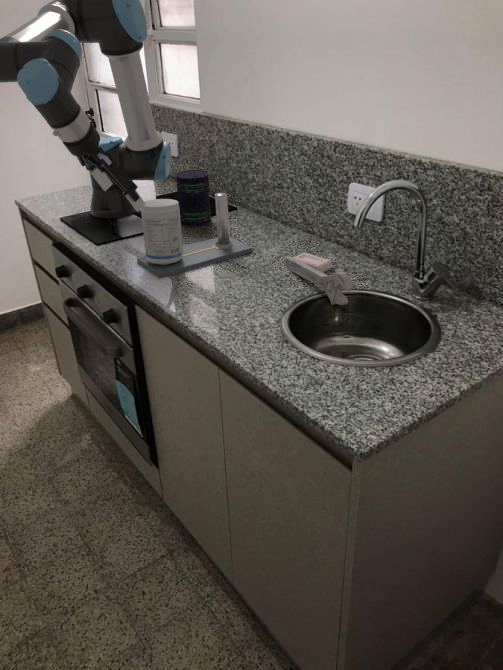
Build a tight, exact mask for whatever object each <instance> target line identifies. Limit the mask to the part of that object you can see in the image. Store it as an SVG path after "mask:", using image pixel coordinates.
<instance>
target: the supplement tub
mask: <svg viewBox="0 0 503 670" xmlns="http://www.w3.org/2000/svg"><path fill="white" fill-rule="evenodd" d="M144 202H145V205H144V206H143V207H142V208H141V209H140V213H141V223H142V231H143V243H144V249H145V256H146V259H147V260H148V261H149V262H151V263H154V264H170V263H175V262H178V261H179V260H181V259H182V257H183V248H182V246H183V237H182V225H181V221H180V220H181V219H180V209H179V200H176V199H171V198H156V199H149V200H145V201H144Z"/></svg>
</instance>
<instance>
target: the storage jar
mask: <svg viewBox="0 0 503 670" xmlns="http://www.w3.org/2000/svg"><path fill="white" fill-rule="evenodd" d="M175 176H176V188H177V194H178V203H179V209H180V221H181V226H183V227H187V228H200V227H205V226H208V225H209V223H210V222H212V218H211V216H212V215H211V214H212V210H211V209H212V208H211V204H210V194H209V193H210V182H209V172H208V171H206V170H201V169H188V170H182V171H179V172H177V173H176V174H175ZM210 224H211V223H210Z"/></svg>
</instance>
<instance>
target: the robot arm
mask: <svg viewBox="0 0 503 670" xmlns="http://www.w3.org/2000/svg"><path fill="white" fill-rule="evenodd" d="M147 38H148V26H147V19H146V14H145V10H144V8H143V5H142V3H141V1H140V0H52V1H50V2H48V3H47V4H45V5H44V6H42V7H41V8H40V9H39V10H38V12H37V16H35V17H34V18H32V19H30V20H29V21H27V22H25V23H24V24H22V25H21V26H19V27H18V28H17V27H16V29H14V30H13V31H12V30H11V32H9V33H8V34H6V35H4V36H3V37H1V38H0V83H1V84H2V83H17V85H18V86H19V88H20V89H21V90H22V91H21V92H23V94H24V95H25V97H26V99H27V100H28V101H29V102H30V103H31V104H32V105H33V106H34V108H35V109H36V110H37V111H38V112H39V114H40V115H41V116H42V118H43V119H44V120H45V121H46V123H47V124H48V126H49V127H50V128H51V129H52V130H53V131H52V135H53V136H54V137H58V138H59V140H60V141H62V144H63V145H64V146H65V148H66V149H67V151H69V153H70V154H71V155H72V156H74V157H76V158H77V161H79V164H80V165H81V167H85V169H86V171H89V175H90V176H89V178H90V181H91V187H92V193H91V201H90V206H89V207H90V214H91V216H92V217H95V218H98V219H99V218H100V219H117V218H118V219H119V218H123V217H127V216H130V215H133V214H134V213H136V212H139V211H141V208H142V207H143V206H144V205H145V201H144V200H143V198H142V197H141V195H140V194H139V192H138V190H137V189H138V188H139V186H138V185H137V184H136V183H135V182H134V181H153V182H156V181H164V180H166V179H167V178H168V177H169V174H170V171H171V164H172V148H171V147H172V146H171V144H170V142H168V141H164V140H163V135H162V134H161V132H159V131H157V130H156V125H155V121H154V115H153V112H152V111H153V109H152V107H151V106H152V105H151V102H150V96H149V92H148V88H147V86H148V85H147V82H146V77H145V73H144V69H143V64H142V59H141V54H140V52H141V51H142V49H143V48H144V42H145V41H146V40H147ZM81 44H98V45H99V50H100V53H101V54H102V55H103V56H105V57H107V58H108V63H109V66H110V70H111V74H112V77H113V82H114V86H115V89H116V94H117V97H118V102H119V106H120V108H121V114H122V117H123V121H124V125H125V129H126V133H127V136H126V138H125V139H124V140H123V138H122V137H121V136H110V137H105V138H101V136H100V134H99V133H100V132H98V131H97V129H96V127H95V126H94V125H93V123H92V122H91V120H90V118H89V116H88V115H87V114H86V113H85V110H83V108H82V107H81V105H80V104H79V102H78V101H76V99H75V97H74V96H73V94H72V89H73V86H74V83H75V80H76V78H77V74H78V70H79V69H80V66H81V60H82V55H83V48H82V45H81Z"/></svg>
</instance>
